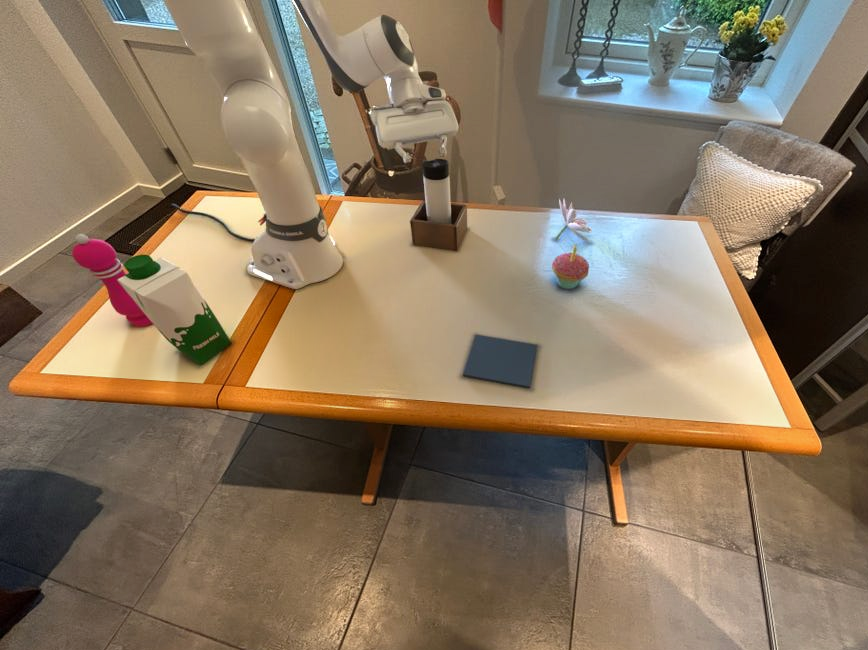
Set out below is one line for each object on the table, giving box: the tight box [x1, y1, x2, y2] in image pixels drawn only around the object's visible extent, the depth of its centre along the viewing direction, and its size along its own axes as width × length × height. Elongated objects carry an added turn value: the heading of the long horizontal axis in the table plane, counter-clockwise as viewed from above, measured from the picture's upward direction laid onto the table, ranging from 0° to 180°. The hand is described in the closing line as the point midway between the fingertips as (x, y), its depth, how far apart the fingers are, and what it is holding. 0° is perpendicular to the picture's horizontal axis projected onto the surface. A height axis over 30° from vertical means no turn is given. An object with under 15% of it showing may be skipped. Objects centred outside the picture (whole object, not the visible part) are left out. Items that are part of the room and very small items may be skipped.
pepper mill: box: [71, 233, 154, 328], centre depth 79 cm, size 7×7×20 cm
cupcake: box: [551, 243, 590, 290], centre depth 92 cm, size 9×8×12 cm
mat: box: [462, 334, 538, 389], centre depth 80 cm, size 13×11×1 cm
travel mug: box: [422, 158, 452, 224], centre depth 101 cm, size 6×7×20 cm
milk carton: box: [118, 254, 233, 366], centre depth 73 cm, size 9×9×20 cm
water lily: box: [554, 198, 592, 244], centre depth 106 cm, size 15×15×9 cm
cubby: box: [409, 199, 468, 252], centre depth 106 cm, size 12×11×7 cm
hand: (426, 158), depth 99 cm, fingers open, 8 cm apart
